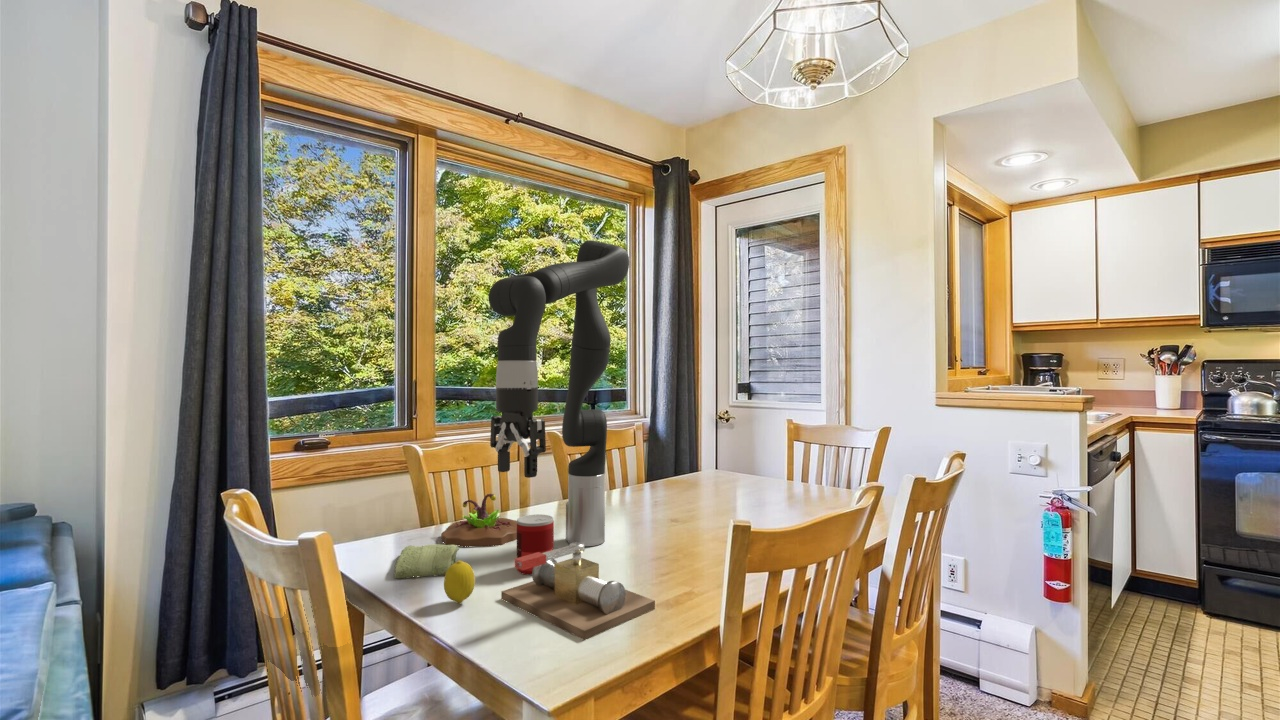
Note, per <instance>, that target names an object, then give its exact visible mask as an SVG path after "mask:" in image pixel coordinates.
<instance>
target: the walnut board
mask: <svg viewBox="0 0 1280 720" xmlns="http://www.w3.org/2000/svg"><path fill="white" fill-rule="evenodd" d="M500 592H501V595H500V596H501V597H500V599H501V600H502V599H503V600H502V601H504V600H505V601H504V602H506V601H507V602H506V603H508V604H510V605H513V606H514V607H515V608H516V607H517V608H518V607H519V608H518V609H520V608H521V610H522V609H523V610H522V611H524V610H525V611H524V612H526V611H527V612H526V613H528V612H529V614H530V613H531V615H532V614H533V615H532V616H534V615H535V617H536V616H537V618H539V619H541V620H543V621H545V622H547V623H548V624H550V625H552V626H555V627H556V628H559V629H561V630H563V631H566V632H567V633H569V634H571V635H573V636H575V637H577V638H580V639H581V640H584V641H586V640H589V639H590V638H592V637H596V636H597V635H599V634H601V633H604V632H606V631H608V630H610V629H613V628H615V627H618V626H619V625H622V624H624V623H627V622H629V621H631V620H633V619H635V618H638V617H640V616H642V615H645V614H647V613H649V612H651V611H653V610H655V609H656V601H655V599H652V598H649V597H646V596H643V595H641V594H638V593H636V592H632V591H630V590H628V589H625V592H626V597H625V602H624V605H623V607H622V608H621V609H619V610H617V611H615V612H612V613H610V614H604V613H602V612H601V611H600V609H599V607H597V606H595V605H592V604H590V603H588V602H585V601H584V602H582V603H579V604H577V605H575V604H573V603H570V602H568V601H566V600H563V599H561V598H559V597H556V596H555V589H554V588H552V587H550V586H547V585H542V586H539V585H537V584H535V583H534V581H533V580H532V581H529V582H526V583H522V584H521V585H517V586H514V587H511V588H508V589H504V590H501V591H500Z"/></svg>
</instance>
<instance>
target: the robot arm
mask: <svg viewBox="0 0 1280 720" xmlns="http://www.w3.org/2000/svg"><path fill="white" fill-rule="evenodd" d="M629 267H630V257H629V254H628V251H627V250H626V249H624V247H621V246H619V245H615V244H613V243H607V242H602V241H597V240H585V241H584V242H583V243H581V245H580V247H579V249H578V252H577V256H576V261H571V262H559V263H553V264H550V265H547V266H543V267H541V268H539V269H536V270H533V271H531V272H527V273H521V274H517V275H512V276H508V277H505V278H501V279H499V280H497V281H495V282H494V283H493V284H492V286H491V287H490V289H489V292H488V297H487V299H488V304H489V305H490V308H491V309H492V311H494V312H495V313H496V314H498V315H499V316H503V317H514V320H513V323H512V325H511V326H510V327H506V328H505V329H503V330H501V331H499V333H498V337H497V366H496V372H495V373H496V374H495V380H496V381H495V385H496V386H495V409H496V410H495V411H496V412H498V413H501V415H493V416H491V419H490V448H492V449H493V448H494V449H495V452H497V471H498V472H499V473H507V472H509V471H510V470H511V451H510V449H511V448H512V445H513V443H517V445H518V446H519V447H521V448H522V451H523V453H524V457H523V458H524V460H523V461H524V463H523V464H524V465H523V466H524V467H523V468H524V474H523V476H524V478H527V479H529V478H535V477H536V476H537V475H538V474H537V473H538V456H539V455H541V454H542V453H543V454H544V453H546V451H547V446H546V445H547V444H546V442H547V441H546V439H547V438H546V420H545V419H544V418H534V414H533V413H534V412H537V411H538V408H539V407H538V406H539V379H538V378H539V375H538V374H539V372H538V365H537V363H538V362H537V346H538V345H537V340H538V335H539V332H540V328H541V324H542V321H543V320H542V319H543V317H544V313H545V310H546V309H545V308H546V305H548V304H552V303H555V302H557V301H559V300H562V299H564V298H566V297H569V296H571V295H575V310H574V323H573V331H572V339H571V347H570V348H571V350H570V360H569V361H570V363H569V378H568V386H567V387H568V388H567V393H566V400H565V405H564V410H563V411H564V412H563V418H562V426H561V427H562V428H561V434H562V440H563V443H564V444H565V445H566V446H567V447H569V448H570V447H571V448H572V447H573V448H575V447H577V448H578V447H589V449H588V450H587V452H585V454H583V455H581V456H580V457H577V458H574V459H573V460H571V461H570V462H569V463H568V467H567V470H568V471H567V473H568V474H567V476H568V477H567V478H568V479H567V481H568V482H567V483H568V484H567V485H568V489H567V490H568V492H567V493H568V494H567V495H568V498H567V499H568V500H567V502H566V503H565V541H567V542H568V544H570V543H573V542H582V543H584V547H594V546H598V545H602V544H604V543H605V539H606V537H605V536H606V534H605V531H606V530H605V528H606V527H605V526H606V525H605V524H606V519H605V518H606V517H605V516H606V513H605V512H606V510H605V509H606V482H605V481H606V479H605V478H606V459H607V458H606V457H607V453H606V452H607V435H608V420H607V416H606V413H605V412H604V410H601V409H582V407H583V402H584V400H585V398H586V397H587V395H588V393H589V391H590V390H591V388H592V387H594V385H595V384H596V383H597V381H598V380H599V379H600V377H601V376H602V375H603V374H604V371H605V370H606V369H607V366H608V364H609V360H610V350H611V342H612V340H611V333H610V330H609V328H608V324H607V322H606V321H605V320H606V319H605V318H604V315H603V313H602V309H601V308H600V305H599V300H598V295H597V294H598V292H597V291H598V289H599V288H602V287H612V286H616V285H619V284H620V283H622V282H623V281H624V279H626V277H627V274H628V271H629ZM538 440H539V445H538V443H537V442H538Z"/></svg>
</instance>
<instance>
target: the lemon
mask: <svg viewBox="0 0 1280 720" xmlns="http://www.w3.org/2000/svg"><path fill="white" fill-rule="evenodd" d="M475 585H476V578H475V573H474V570H473V568H472V566H471V565H470V564H469V563H467V562H464V561H463V560H460V559H459V560H457V561H456V563H454V564H453V565H451V566H450V567H449V568H448V570H447V572H446V574H445V575H444V580H443V589H444V593H445V595H446V596H447V598H448V599H450V600H451V601H453V602H455V603H457V605H458V604H462V602H464V601H465V600H467V599H468V598H469V597H471V595H472V594H473V591H474V590H475Z"/></svg>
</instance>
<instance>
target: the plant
mask: <svg viewBox="0 0 1280 720" xmlns="http://www.w3.org/2000/svg"><path fill="white" fill-rule="evenodd" d="M488 497H489V499H490V500H491V501H496V499H497V496H496V495H495V494H494V493H493V494H492V493H487V494H486V495H485V496H484V497H483V500H482V501H481V505H479V504H478V503H477V502H476V501H474V500H471V499H468V500H466V501H464V502H463V503H462V507H463V508H467V507H468V503H470V504H473V506H474V508H472V509H471V512H468V515H469V516H470V517H469V516H468V515H462V517H463V520H459V521H456V522H454V523H452V524H450V525H449V526H447V528H446V529H445V530H444V531H442V532H441V533H440V534H441V536H440V538H441V539H442V540H441V543H442V542H444V543H445V544H446V545H460V546H463V547H462V548H470V547H469V546H483V547H496V546H495V545H500V546H503V545H506V544H507V543H511V542H514V541H517V519H516V520H515V519H511V518H507V517H506V518H505V517H501V515H499V513H500V510H499V509H497V510H495V511H492V513H490V514H489V513H488V511H487V508H486V506H487V505H486V503H487V499H488ZM464 519H465V520H464ZM444 543H443V544H444ZM505 543H506V544H505ZM445 544H444V545H445ZM493 545H494V546H493ZM460 546H459V547H460ZM465 546H466V547H465ZM467 546H468V547H467Z"/></svg>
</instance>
